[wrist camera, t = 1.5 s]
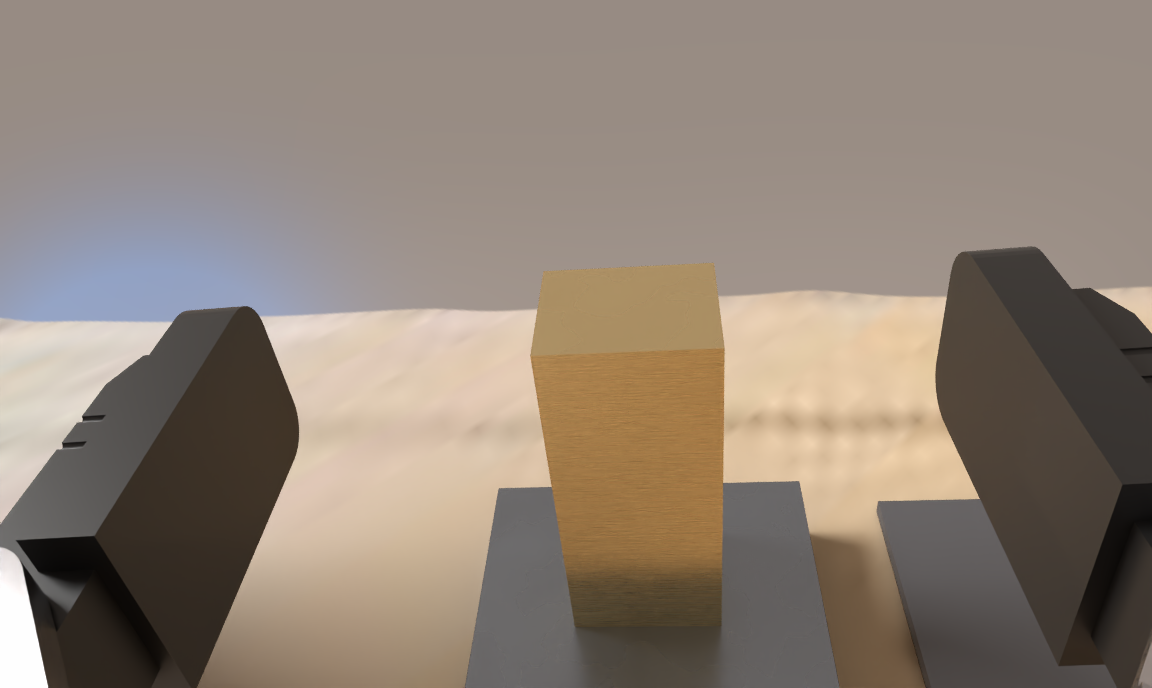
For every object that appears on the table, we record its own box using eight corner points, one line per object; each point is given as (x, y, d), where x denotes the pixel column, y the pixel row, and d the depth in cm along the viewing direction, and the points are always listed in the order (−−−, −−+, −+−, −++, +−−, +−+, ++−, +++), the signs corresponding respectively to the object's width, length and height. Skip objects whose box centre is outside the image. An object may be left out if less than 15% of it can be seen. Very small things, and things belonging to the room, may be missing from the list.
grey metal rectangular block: (478, 741, 30) (463, 694, 28) (509, 536, 37) (498, 488, 35) (832, 743, 29) (841, 695, 27) (794, 531, 36) (799, 481, 34)
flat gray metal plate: (950, 774, 28) (953, 765, 27) (876, 511, 36) (878, 501, 36) (1323, 779, 27) (1331, 769, 26) (1155, 505, 35) (1160, 495, 35)
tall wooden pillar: (574, 626, 30) (530, 355, 23) (580, 535, 33) (543, 271, 26) (721, 625, 29) (724, 347, 22) (713, 532, 33) (713, 263, 25)
